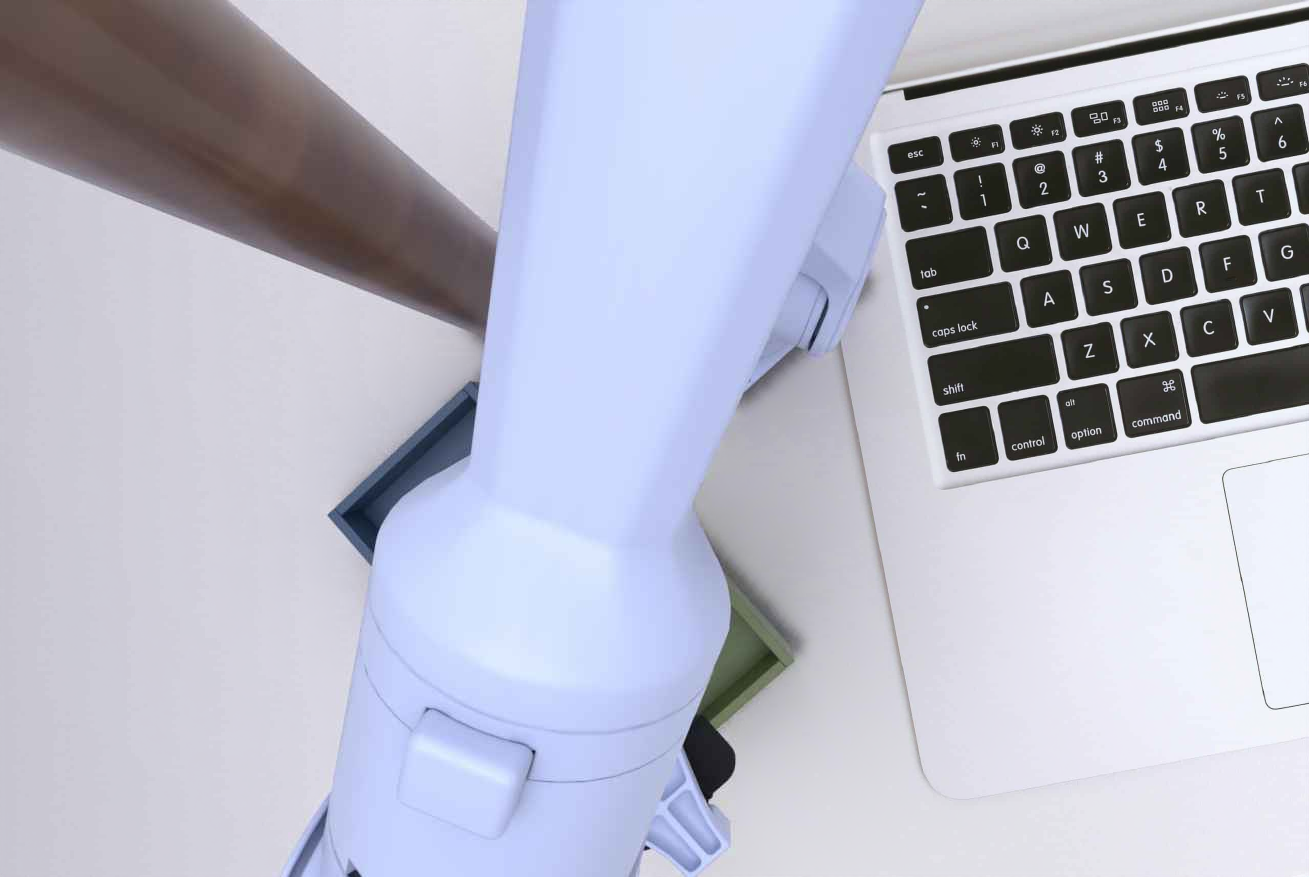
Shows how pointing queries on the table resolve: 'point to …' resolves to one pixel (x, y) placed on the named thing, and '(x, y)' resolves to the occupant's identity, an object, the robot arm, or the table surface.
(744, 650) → the tray
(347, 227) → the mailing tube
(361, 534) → the tray
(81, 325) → the table surface
